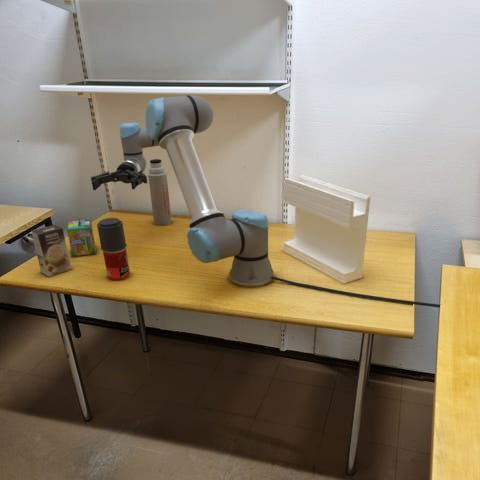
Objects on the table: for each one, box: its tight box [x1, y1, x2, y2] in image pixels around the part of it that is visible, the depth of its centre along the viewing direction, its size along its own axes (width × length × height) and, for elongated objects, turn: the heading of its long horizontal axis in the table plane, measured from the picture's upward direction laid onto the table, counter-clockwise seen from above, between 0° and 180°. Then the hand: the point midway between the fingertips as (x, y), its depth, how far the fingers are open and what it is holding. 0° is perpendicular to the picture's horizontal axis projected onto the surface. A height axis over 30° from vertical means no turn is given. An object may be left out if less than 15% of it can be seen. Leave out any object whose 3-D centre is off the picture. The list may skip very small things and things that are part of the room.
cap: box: [96, 217, 128, 252], centre depth 163 cm, size 9×9×9 cm
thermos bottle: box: [147, 158, 172, 227], centre depth 213 cm, size 8×8×28 cm
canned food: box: [102, 247, 131, 281], centre depth 168 cm, size 8×8×11 cm
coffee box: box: [30, 224, 72, 278], centre depth 172 cm, size 9×6×16 cm
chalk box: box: [66, 214, 97, 258], centre depth 188 cm, size 9×9×15 cm
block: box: [282, 174, 371, 284], centre depth 168 cm, size 35×8×28 cm, turn 31°
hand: (112, 185), depth 164 cm, fingers open, 13 cm apart
